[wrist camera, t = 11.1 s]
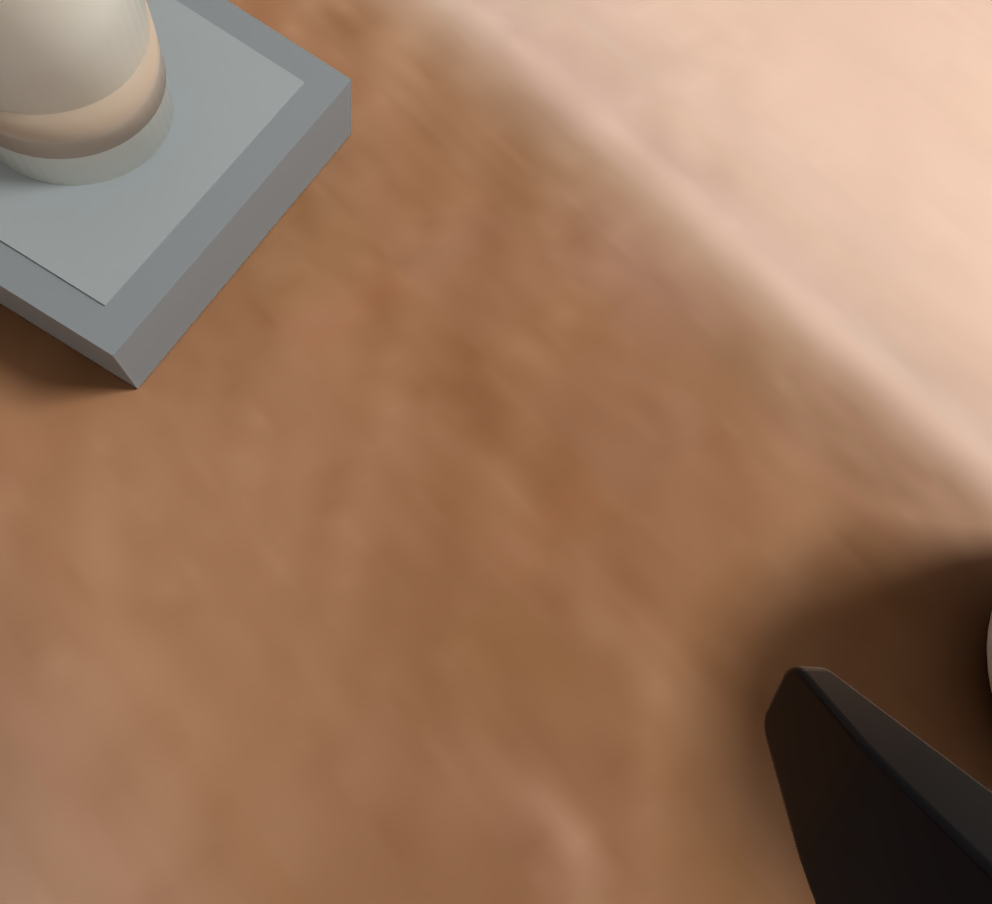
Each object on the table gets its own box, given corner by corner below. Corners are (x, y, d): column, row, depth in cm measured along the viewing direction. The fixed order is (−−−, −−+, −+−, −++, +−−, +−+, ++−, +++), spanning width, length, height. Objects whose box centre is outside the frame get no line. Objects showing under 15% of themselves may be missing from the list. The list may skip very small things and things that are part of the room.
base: (137, 388, 22) (112, 355, 20) (-194, 182, 22) (-260, 123, 19) (350, 133, 25) (351, 78, 23) (68, -46, 25) (40, -121, 23)
